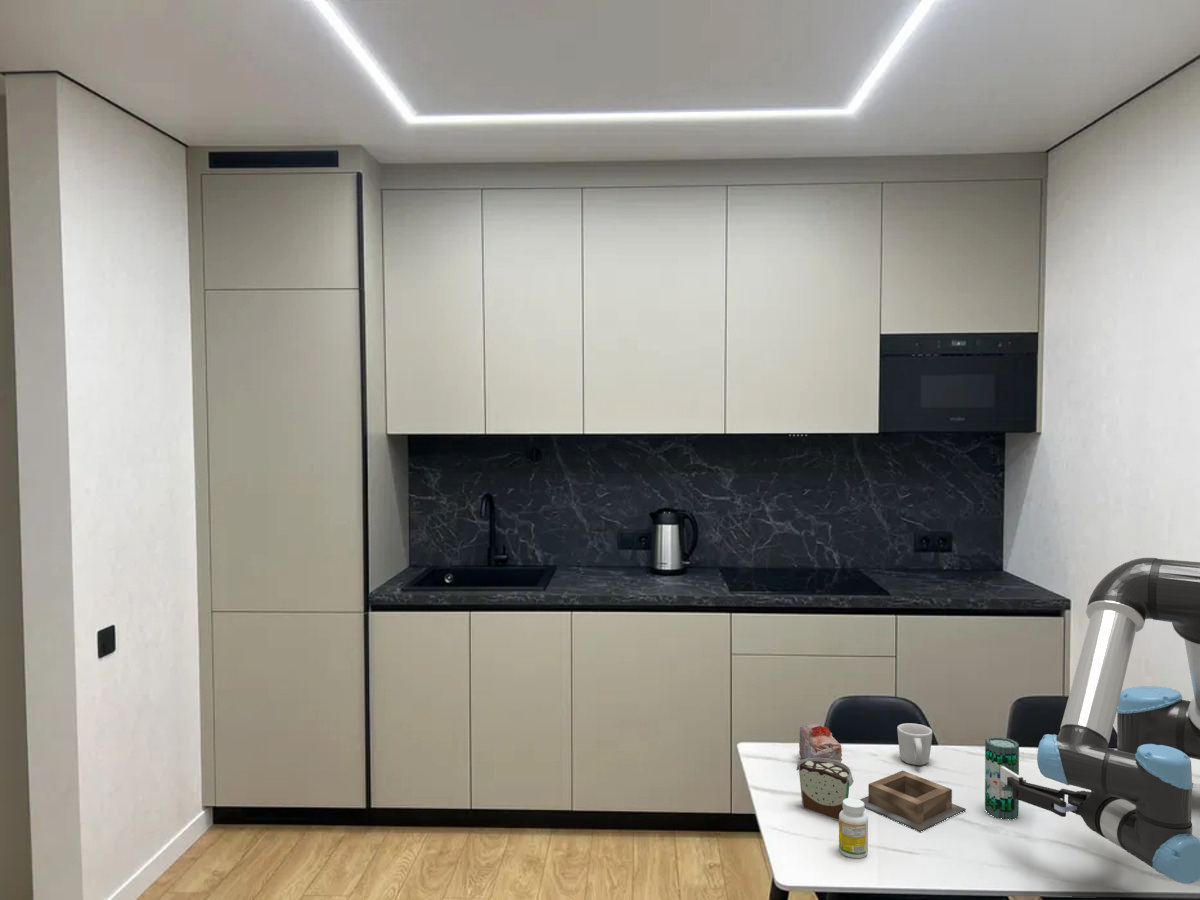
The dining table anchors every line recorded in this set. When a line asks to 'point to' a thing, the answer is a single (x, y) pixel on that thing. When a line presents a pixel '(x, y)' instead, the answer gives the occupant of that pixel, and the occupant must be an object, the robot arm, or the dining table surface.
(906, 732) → the cup
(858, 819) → the supplement bottle
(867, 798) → the holder
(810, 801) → the food container
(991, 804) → the can
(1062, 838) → the dining table surface
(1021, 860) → the dining table surface
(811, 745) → the food item
